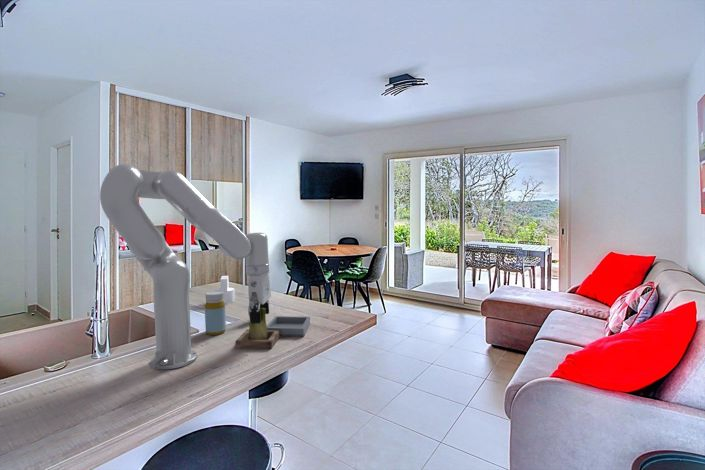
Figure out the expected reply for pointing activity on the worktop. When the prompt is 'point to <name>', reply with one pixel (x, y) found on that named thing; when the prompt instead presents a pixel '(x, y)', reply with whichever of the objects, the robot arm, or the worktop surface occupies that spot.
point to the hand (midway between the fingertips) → (260, 318)
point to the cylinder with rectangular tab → (226, 290)
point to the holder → (258, 344)
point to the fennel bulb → (258, 327)
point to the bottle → (215, 313)
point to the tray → (290, 325)
